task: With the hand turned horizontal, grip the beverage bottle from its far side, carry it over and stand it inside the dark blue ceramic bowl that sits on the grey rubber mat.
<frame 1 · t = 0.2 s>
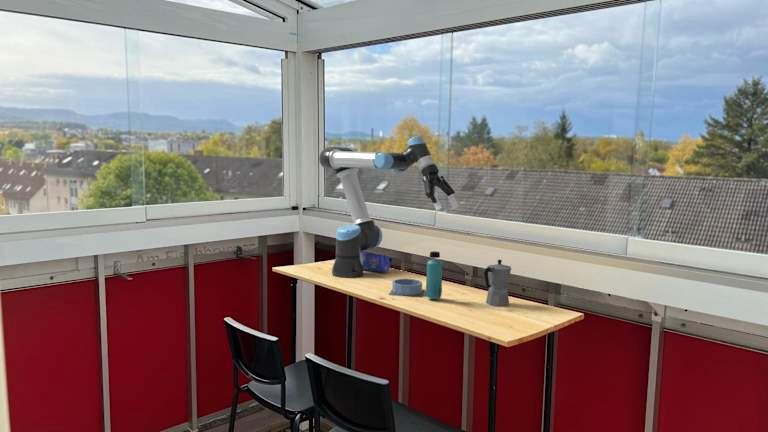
hand: (448, 208, 253), 35 cm above the table, tool tilted 35°, fingers open, 13 cm apart
coffeepot: (495, 304, 230), on the table
bowl: (407, 292, 244), resting on mat
mat: (407, 292, 244), on the table
beverage bottle: (433, 300, 233), on the table
pencil case: (369, 271, 288), on the table
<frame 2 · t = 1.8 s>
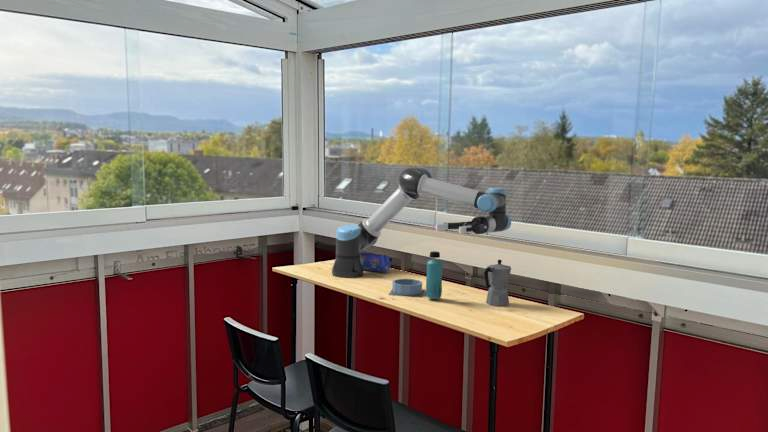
hand: (447, 229, 236), 29 cm above the table, tool horizontal, fingers open, 13 cm apart
nothing on the table moved.
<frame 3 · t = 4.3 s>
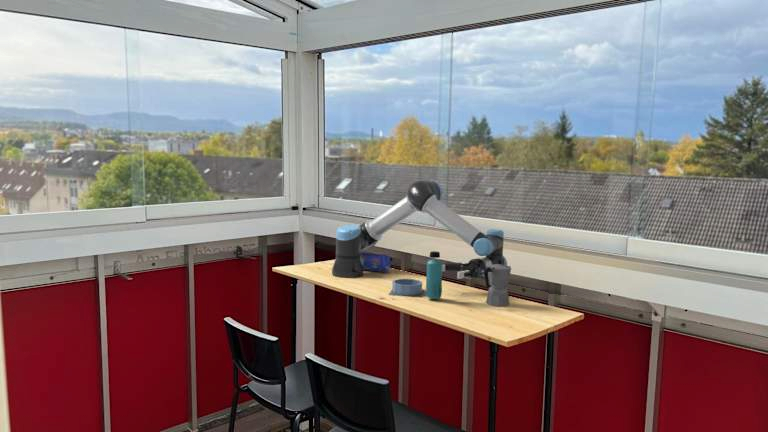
hand: (445, 272, 236), 11 cm above the table, tool horizontal, fingers open, 13 cm apart
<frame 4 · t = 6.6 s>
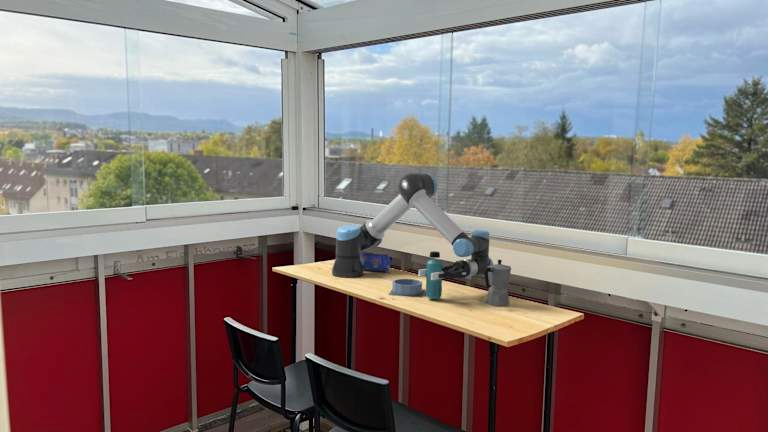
hand: (425, 275, 229), 11 cm above the table, tool horizontal, fingers closed on beverage bottle, 6 cm apart
beverage bottle: (433, 300, 233), on the table, touching gripper
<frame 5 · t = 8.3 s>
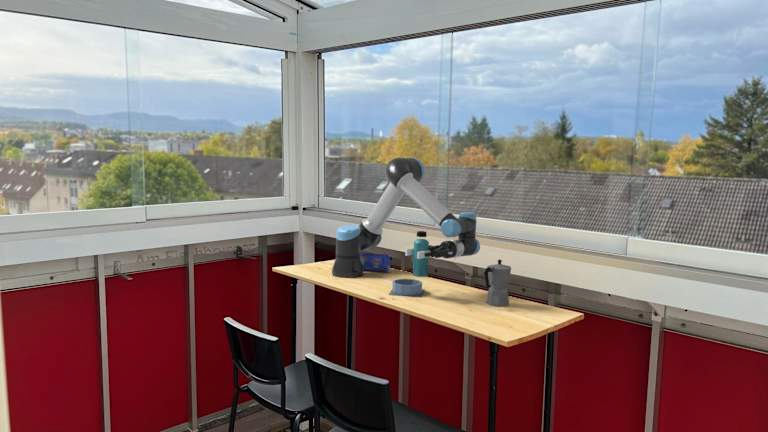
hand: (412, 253, 234), 18 cm above the table, tool horizontal, fingers closed on beverage bottle, 6 cm apart
beverage bottle: (419, 279, 238), point 7 cm above the table, touching gripper
when the fingers open (13 cm above the table, at t = 10.2 s): beverage bottle stays where it is, resting on bowl.
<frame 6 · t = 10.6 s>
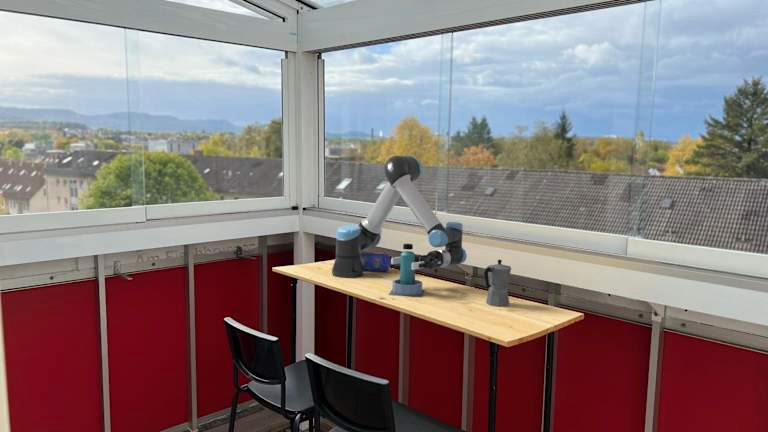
hand: (401, 263, 240), 13 cm above the table, tool horizontal, fingers open, 12 cm apart
beverage bottle: (407, 290, 244), point 1 cm above the table, touching bowl
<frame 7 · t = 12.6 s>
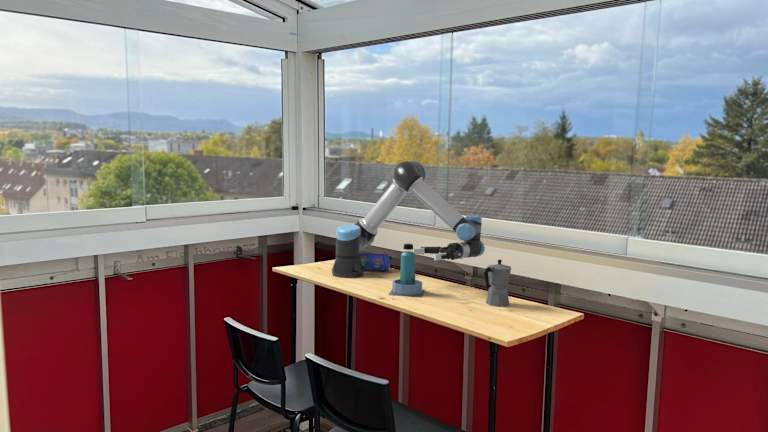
hand: (423, 254, 248), 16 cm above the table, tool horizontal, fingers open, 13 cm apart
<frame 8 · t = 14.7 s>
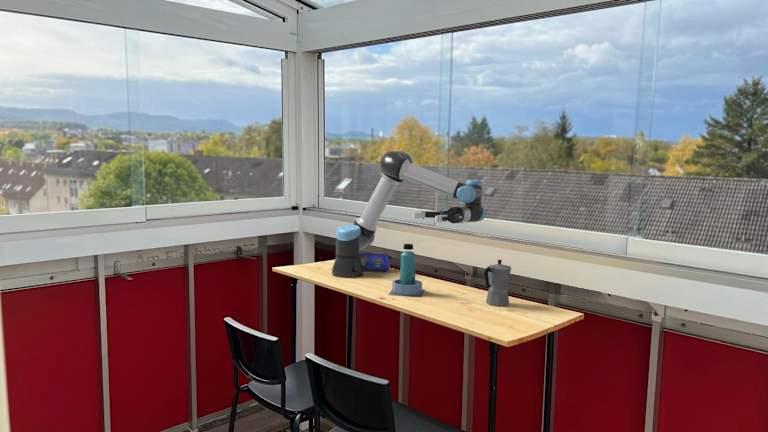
hand: (424, 217, 246), 32 cm above the table, tool horizontal, fingers open, 13 cm apart
at the end: beverage bottle inside the target area on the bowl (0.1 cm from its centre), point 0.6 cm above the bowl's base; beverage bottle tilted 0°; the gripper is holding nothing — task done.
